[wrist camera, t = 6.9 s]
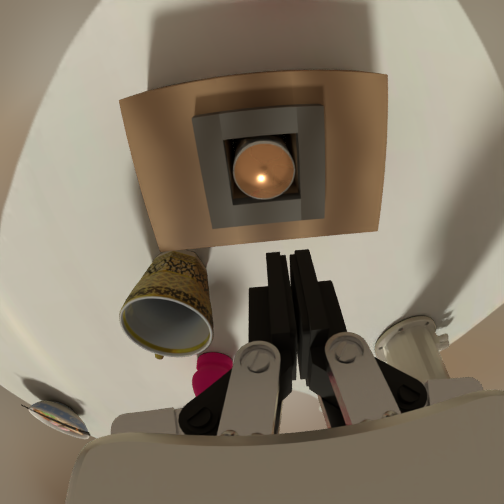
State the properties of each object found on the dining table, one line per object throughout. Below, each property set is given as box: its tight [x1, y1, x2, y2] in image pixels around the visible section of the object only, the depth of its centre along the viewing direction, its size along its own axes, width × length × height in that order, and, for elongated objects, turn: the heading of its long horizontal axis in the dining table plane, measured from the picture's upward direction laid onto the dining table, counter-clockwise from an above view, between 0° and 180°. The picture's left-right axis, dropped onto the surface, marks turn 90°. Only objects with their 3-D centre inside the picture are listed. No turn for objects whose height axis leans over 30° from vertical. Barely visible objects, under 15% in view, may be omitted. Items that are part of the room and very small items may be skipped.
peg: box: [233, 134, 295, 199], centre depth 23 cm, size 4×4×8 cm
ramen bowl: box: [22, 401, 90, 439], centre depth 68 cm, size 25×23×8 cm
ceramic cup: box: [119, 250, 213, 359], centre depth 33 cm, size 13×10×10 cm
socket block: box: [119, 70, 388, 252], centre depth 24 cm, size 20×14×8 cm
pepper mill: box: [192, 352, 233, 397], centre depth 41 cm, size 7×7×20 cm
